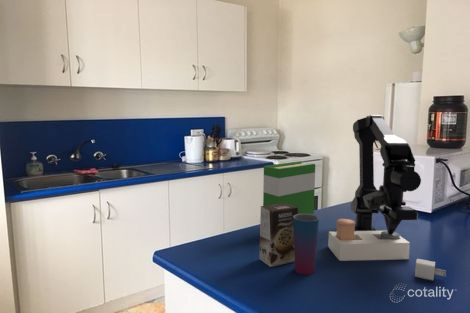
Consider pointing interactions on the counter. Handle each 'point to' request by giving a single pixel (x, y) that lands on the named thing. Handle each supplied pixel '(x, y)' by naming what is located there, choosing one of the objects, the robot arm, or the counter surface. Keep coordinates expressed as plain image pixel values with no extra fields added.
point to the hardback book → (290, 185)
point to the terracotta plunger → (345, 229)
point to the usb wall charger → (427, 269)
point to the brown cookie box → (277, 234)
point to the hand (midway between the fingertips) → (390, 233)
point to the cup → (305, 242)
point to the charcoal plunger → (389, 235)
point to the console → (368, 247)
